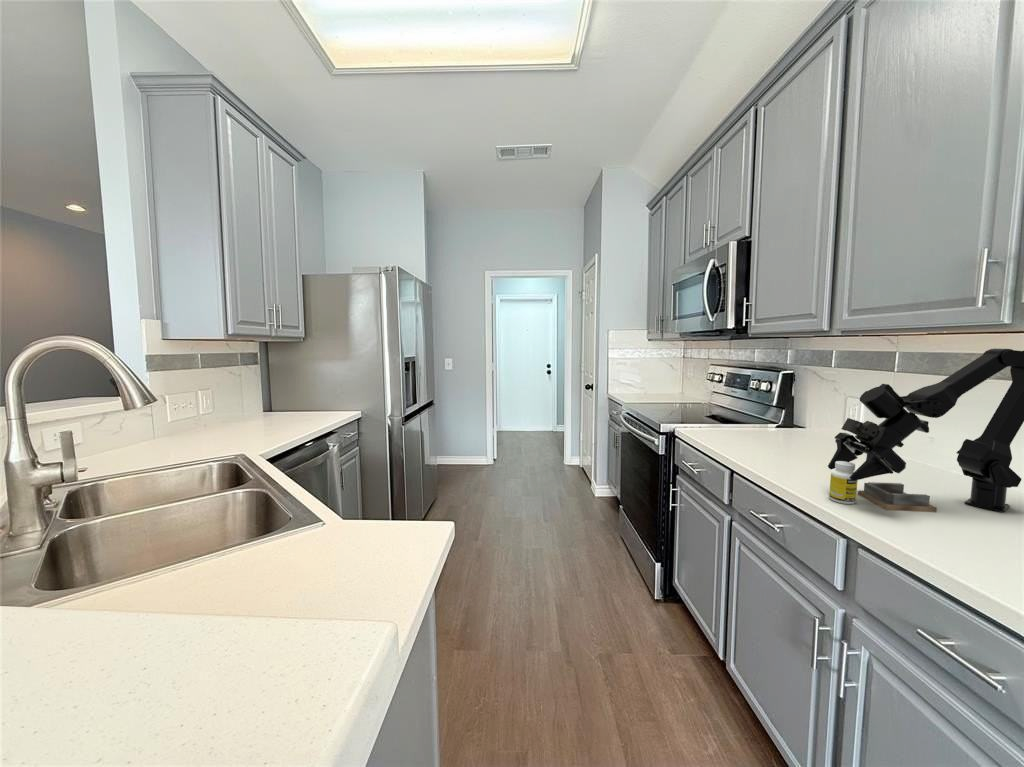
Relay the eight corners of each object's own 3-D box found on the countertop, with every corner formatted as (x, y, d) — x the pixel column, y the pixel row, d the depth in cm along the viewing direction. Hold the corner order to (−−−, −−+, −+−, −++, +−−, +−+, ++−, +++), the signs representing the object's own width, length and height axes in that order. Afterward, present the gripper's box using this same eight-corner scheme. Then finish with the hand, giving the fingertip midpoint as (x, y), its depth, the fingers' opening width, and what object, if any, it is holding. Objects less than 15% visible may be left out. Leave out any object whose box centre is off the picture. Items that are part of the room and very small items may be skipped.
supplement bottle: (847, 506, 107) (849, 467, 106) (824, 498, 112) (826, 461, 111) (860, 502, 109) (863, 464, 108) (837, 495, 114) (840, 459, 113)
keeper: (902, 495, 113) (904, 482, 113) (936, 511, 103) (937, 497, 102) (858, 494, 115) (858, 481, 114) (886, 509, 104) (887, 495, 104)
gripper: (844, 402, 116) (797, 442, 119) (895, 414, 98) (838, 461, 101) (875, 432, 116) (827, 470, 119) (931, 450, 98) (873, 495, 101)
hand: (839, 473), depth 110 cm, fingers open, 9 cm apart
